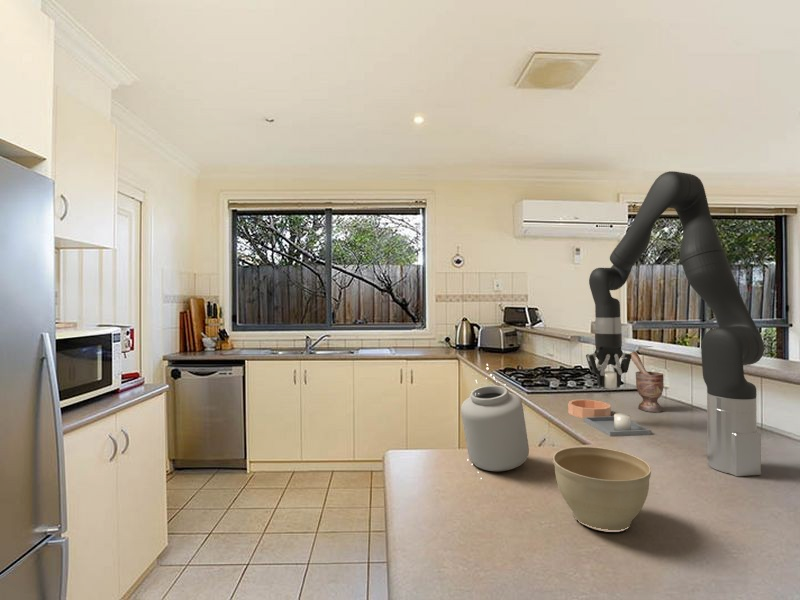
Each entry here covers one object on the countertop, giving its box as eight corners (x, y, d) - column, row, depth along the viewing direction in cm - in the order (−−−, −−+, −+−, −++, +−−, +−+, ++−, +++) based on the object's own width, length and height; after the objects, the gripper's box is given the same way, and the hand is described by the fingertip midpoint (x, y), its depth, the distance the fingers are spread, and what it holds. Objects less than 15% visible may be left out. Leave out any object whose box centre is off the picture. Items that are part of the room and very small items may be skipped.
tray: (651, 437, 124) (651, 430, 124) (610, 438, 123) (610, 431, 123) (620, 422, 139) (620, 415, 139) (583, 423, 138) (583, 417, 138)
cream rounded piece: (634, 432, 126) (634, 417, 126) (619, 433, 125) (619, 417, 125) (625, 428, 130) (625, 413, 130) (611, 428, 130) (611, 413, 130)
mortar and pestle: (623, 408, 156) (622, 352, 156) (631, 403, 162) (631, 350, 162) (659, 414, 148) (658, 355, 147) (667, 409, 154) (666, 353, 153)
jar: (492, 487, 93) (491, 371, 93) (443, 467, 105) (442, 364, 105) (541, 464, 106) (540, 362, 105) (492, 448, 117) (491, 356, 117)
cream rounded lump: (620, 388, 132) (619, 373, 133) (606, 388, 132) (605, 373, 132) (611, 385, 137) (611, 370, 137) (598, 385, 137) (598, 371, 137)
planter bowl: (569, 492, 91) (569, 440, 91) (658, 516, 80) (658, 458, 80) (540, 524, 78) (539, 464, 78) (641, 557, 68) (640, 488, 68)
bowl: (618, 420, 141) (618, 408, 141) (580, 422, 140) (580, 409, 140) (597, 410, 154) (597, 398, 154) (562, 411, 153) (561, 400, 153)
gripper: (592, 333, 130) (593, 390, 130) (637, 332, 131) (638, 388, 131) (579, 331, 138) (581, 385, 138) (622, 330, 139) (623, 383, 139)
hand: (609, 386), depth 135 cm, fingers closed on cream rounded lump, 4 cm apart
